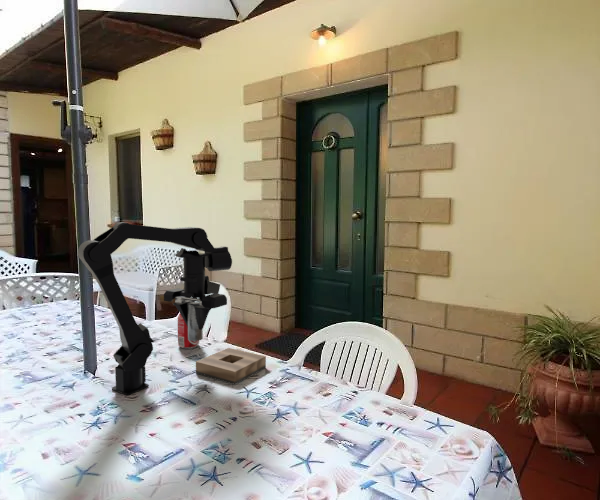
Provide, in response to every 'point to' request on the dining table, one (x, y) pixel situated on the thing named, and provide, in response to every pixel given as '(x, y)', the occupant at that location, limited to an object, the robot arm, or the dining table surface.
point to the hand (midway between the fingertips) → (195, 328)
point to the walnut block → (231, 365)
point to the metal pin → (193, 323)
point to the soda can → (184, 335)
